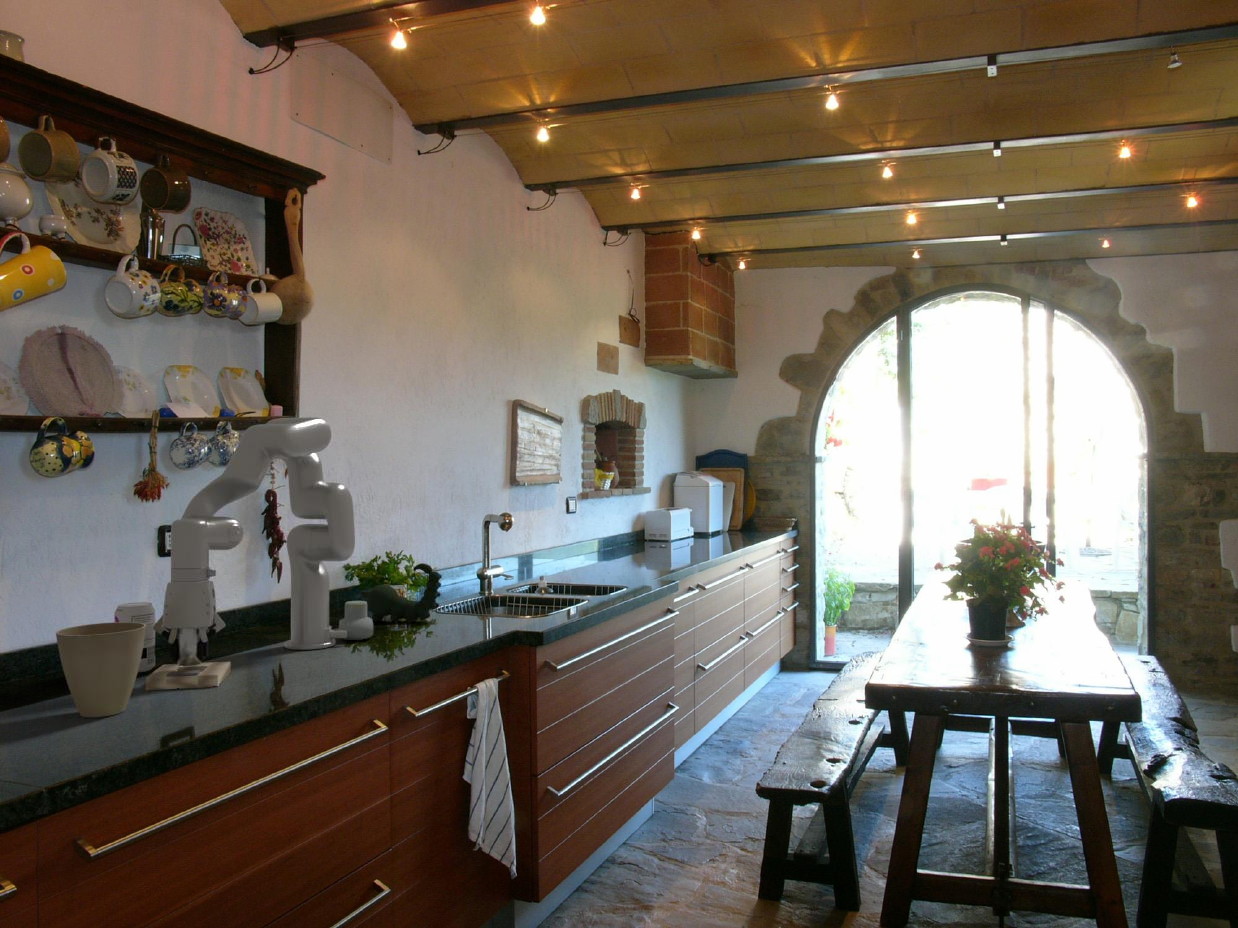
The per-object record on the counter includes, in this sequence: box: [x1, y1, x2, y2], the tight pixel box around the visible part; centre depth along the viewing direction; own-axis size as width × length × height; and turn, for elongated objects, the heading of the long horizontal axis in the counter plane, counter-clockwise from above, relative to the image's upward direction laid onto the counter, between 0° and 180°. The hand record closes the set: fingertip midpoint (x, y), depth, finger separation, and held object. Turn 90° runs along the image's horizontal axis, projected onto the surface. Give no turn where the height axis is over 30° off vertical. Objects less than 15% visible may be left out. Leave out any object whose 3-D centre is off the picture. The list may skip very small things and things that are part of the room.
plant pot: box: [55, 621, 146, 718], centre depth 177 cm, size 15×15×16 cm
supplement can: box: [114, 601, 156, 674], centre depth 215 cm, size 8×8×15 cm
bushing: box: [177, 628, 202, 666], centre depth 203 cm, size 5×5×8 cm
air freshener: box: [338, 600, 374, 641], centre depth 254 cm, size 11×8×10 cm
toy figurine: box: [358, 563, 442, 624], centre depth 283 cm, size 9×19×25 cm
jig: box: [145, 661, 232, 691], centre depth 203 cm, size 14×14×3 cm
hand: (189, 659), depth 203 cm, fingers closed on bushing, 4 cm apart
